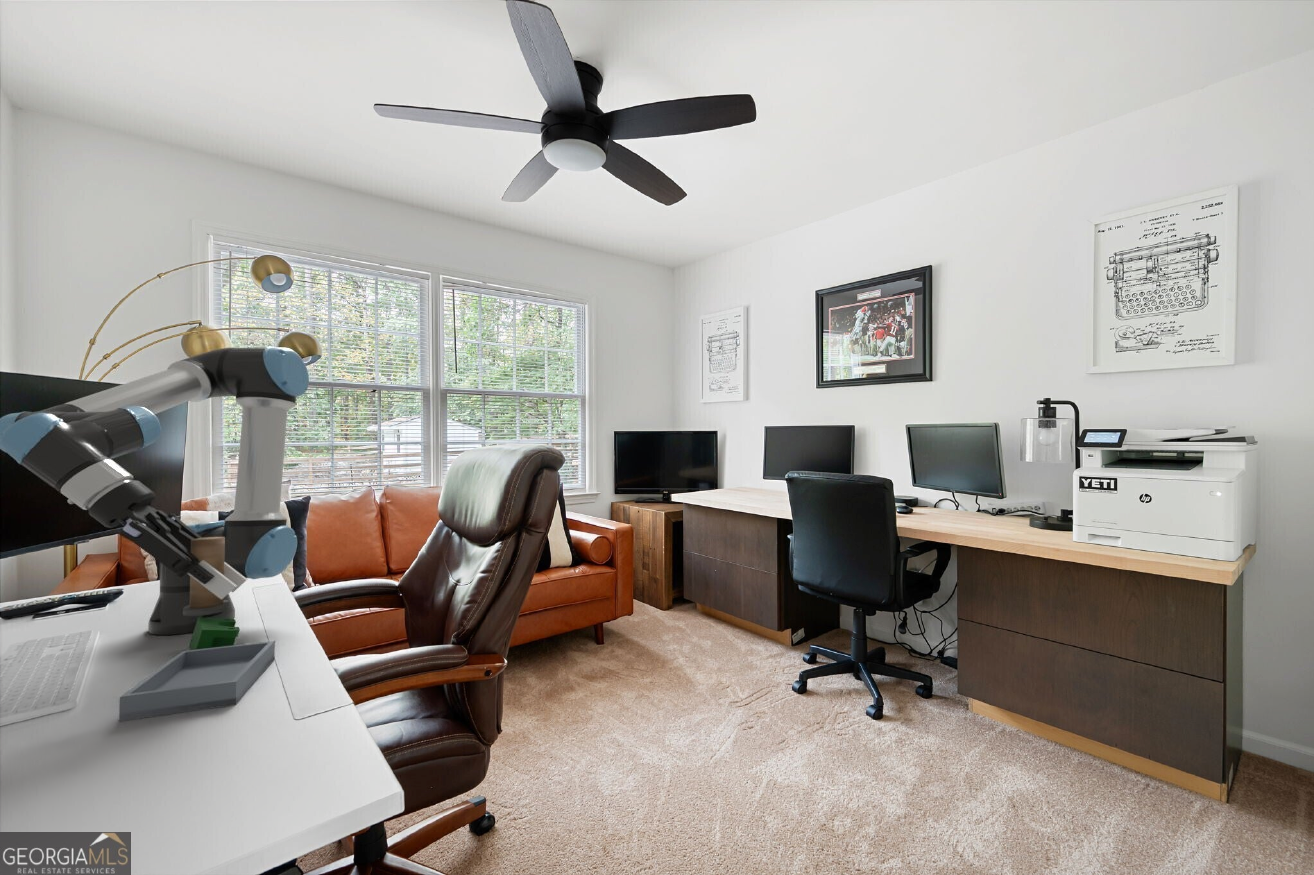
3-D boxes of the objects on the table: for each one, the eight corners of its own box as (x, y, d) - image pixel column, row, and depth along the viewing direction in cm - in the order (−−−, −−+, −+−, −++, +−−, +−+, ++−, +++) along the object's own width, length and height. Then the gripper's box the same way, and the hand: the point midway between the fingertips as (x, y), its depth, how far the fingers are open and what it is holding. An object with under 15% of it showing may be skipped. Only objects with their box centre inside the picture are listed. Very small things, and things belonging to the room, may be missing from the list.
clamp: (224, 676, 106) (240, 636, 105) (185, 677, 102) (201, 635, 101) (226, 637, 115) (241, 600, 114) (190, 637, 111) (205, 598, 110)
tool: (192, 608, 93) (193, 537, 93) (235, 604, 95) (236, 535, 95) (176, 617, 87) (177, 542, 88) (221, 613, 89) (223, 540, 90)
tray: (181, 670, 98) (182, 651, 98) (274, 659, 103) (274, 640, 103) (119, 721, 79) (119, 696, 79) (235, 704, 84) (236, 681, 84)
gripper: (120, 507, 94) (234, 594, 100) (52, 518, 78) (192, 620, 83) (159, 476, 96) (269, 562, 102) (101, 479, 80) (235, 582, 85)
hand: (234, 588), depth 93 cm, fingers closed on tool, 4 cm apart
